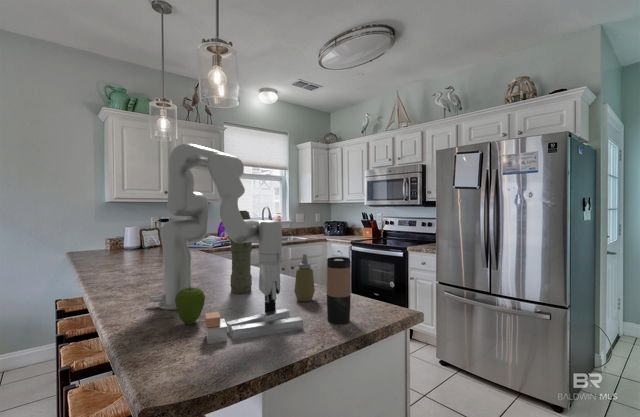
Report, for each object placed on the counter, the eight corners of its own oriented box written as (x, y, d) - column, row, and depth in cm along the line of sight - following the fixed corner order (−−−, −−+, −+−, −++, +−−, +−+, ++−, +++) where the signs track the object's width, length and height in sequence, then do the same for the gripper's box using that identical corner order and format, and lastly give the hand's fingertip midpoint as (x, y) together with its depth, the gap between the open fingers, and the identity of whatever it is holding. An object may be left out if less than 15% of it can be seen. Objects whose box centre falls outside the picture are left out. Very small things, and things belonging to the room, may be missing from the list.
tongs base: (207, 344, 85) (207, 329, 85) (206, 334, 91) (206, 320, 91) (303, 329, 95) (303, 316, 95) (295, 321, 101) (295, 309, 101)
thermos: (241, 296, 130) (242, 210, 130) (224, 291, 138) (224, 210, 138) (258, 291, 137) (258, 210, 137) (240, 287, 145) (240, 210, 145)
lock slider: (206, 327, 85) (206, 318, 85) (205, 321, 90) (205, 313, 90) (220, 325, 87) (220, 317, 87) (218, 320, 91) (218, 311, 91)
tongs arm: (229, 334, 91) (229, 324, 91) (225, 331, 93) (225, 322, 93) (289, 318, 104) (289, 310, 104) (285, 316, 106) (285, 308, 106)
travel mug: (352, 318, 105) (353, 257, 105) (347, 326, 98) (347, 261, 98) (330, 315, 107) (330, 256, 107) (323, 323, 100) (323, 259, 100)
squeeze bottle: (312, 303, 121) (312, 256, 121) (291, 302, 122) (291, 255, 122) (316, 297, 129) (316, 253, 129) (297, 296, 130) (297, 252, 130)
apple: (175, 330, 94) (175, 291, 94) (174, 321, 102) (174, 285, 102) (206, 325, 98) (206, 288, 98) (202, 316, 106) (203, 282, 106)
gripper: (253, 255, 110) (253, 308, 110) (264, 262, 96) (264, 323, 96) (275, 254, 113) (274, 306, 113) (288, 260, 99) (288, 319, 99)
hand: (270, 313), depth 105 cm, fingers closed
